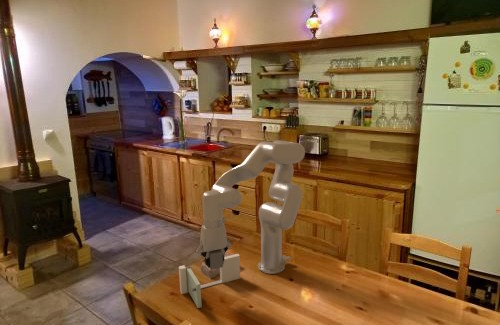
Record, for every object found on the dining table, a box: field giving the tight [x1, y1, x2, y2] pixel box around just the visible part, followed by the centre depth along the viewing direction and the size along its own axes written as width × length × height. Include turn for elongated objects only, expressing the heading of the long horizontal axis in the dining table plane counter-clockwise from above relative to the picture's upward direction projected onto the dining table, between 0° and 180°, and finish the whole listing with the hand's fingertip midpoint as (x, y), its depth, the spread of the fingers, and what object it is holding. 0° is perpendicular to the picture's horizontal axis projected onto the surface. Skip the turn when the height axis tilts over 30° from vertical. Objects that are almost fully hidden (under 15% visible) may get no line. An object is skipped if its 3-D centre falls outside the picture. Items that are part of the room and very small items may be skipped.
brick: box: [200, 252, 233, 279], centre depth 168 cm, size 17×8×5 cm, turn 130°
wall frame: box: [178, 253, 241, 295], centre depth 154 cm, size 27×2×12 cm, turn 116°
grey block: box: [209, 249, 223, 270], centre depth 145 cm, size 5×5×6 cm
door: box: [185, 266, 203, 309], centre depth 144 cm, size 15×3×10 cm, turn 26°
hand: (214, 264), depth 145 cm, fingers closed on grey block, 5 cm apart
